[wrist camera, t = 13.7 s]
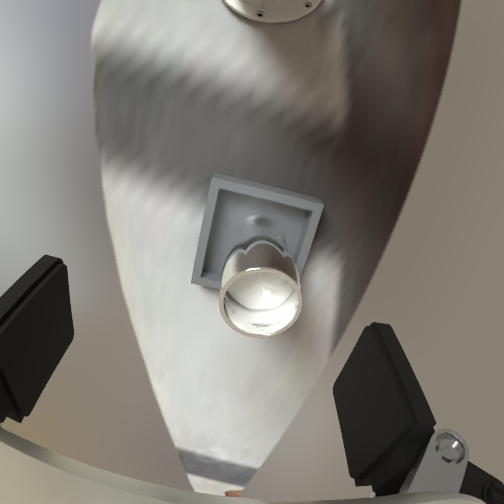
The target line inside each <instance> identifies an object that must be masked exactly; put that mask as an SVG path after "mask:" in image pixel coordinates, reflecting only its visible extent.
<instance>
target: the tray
mask: <svg viewBox="0 0 504 504" xmlns="http://www.w3.org/2000/svg"><path fill="white" fill-rule="evenodd" d="M323 207H324V204H323V203H322V202H321V201H320V199H318V198H315V197H311V196H307V195H304V194H300V193H296V192H292V191H288V190H285V189H281V188H277V187H273V186H269V185H265V184H261V183H256V182H252V181H248V180H244V179H240V178H235V177H231V176H226V175H222V174H217V173H215V174H214V175H213V177H212V180H211V184H210V189H209V193H208V198H207V203H206V208H205V212H204V217H203V222H202V227H201V232H200V237H199V242H198V247H197V253H196V258H195V263H194V269H193V274H192V280H191V283H193V284H197V285H202V286H206V287H211V288H215V289H220V281H221V273H222V269H223V265H224V262H225V260H226V258H227V256H228V254H229V252H230V251H231V249H232V248H233V246H234V245H233V232H234V229H235V227H236V225H237V224H238V223H239V222H240V221H241V220H242V219H243V218H245V217H247V216H249V215H253V214H264V215H267V216H270V217H271V218H273V219H274V220H276V221H277V222H278V223H279V225H280V226H281V228H282V231H283V235H284V242H283V244H284V245H285V247H286V248H287V249H288V250H289V252H290V254H291V255H292V257H293V259H294V261H295V264H296V267H297V270H298V274H299V279H300V277H301V274H302V271H303V268H304V265H305V262H306V259H307V256H308V253H309V250H310V247H311V244H312V241H313V238H314V235H315V232H316V229H317V226H318V223H319V220H320V217H321V213H322V210H323Z"/></svg>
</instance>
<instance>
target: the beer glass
mask: <svg viewBox="0 0 504 504" xmlns="http://www.w3.org/2000/svg"><path fill="white" fill-rule="evenodd" d="M283 242H284V235H283V231H282V228H281V226H280V225H279V223H278V222H277V221H276V220H274V219H273V218H271V217H270V216H267V215H264V214H253V215H249V216H247V217H245V218H243V219H242V220H241V221H240V222H239V223H238V224H237V225H236V227H235V229H234V232H233V245H234V246H233V248H232V249H231V251H230V252H229V254H228V256H227V258H226V260H225V262H224V265H223V269H222V273H221V281H220V299H219V307H220V312H221V314H222V317H223V318H224V320H225V322H226V323H227V324H228V325H229V326H230V327H231V328H232V329H234V330H235V331H237V332H238V333H240V334H243V335H245V336H249V337H254V338H266V337H272V336H275V335H278V334H280V333H282V332H284V331H286V330H287V329H289V328H290V327H291V326H292V325H293V324H294V323H295V322H296V320H297V319H298V317H299V315H300V313H301V309H302V294H301V286H300V279H299V274H298V270H297V267H296V264H295V261H294V259H293V257H292V255H291V254H290V252H289V250H288V249H287V248H286V247H285V245H284V244H283Z"/></svg>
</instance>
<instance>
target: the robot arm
mask: <svg viewBox="0 0 504 504" xmlns="http://www.w3.org/2000/svg"><path fill="white" fill-rule="evenodd" d="M223 1H224V2H225V3H226V5H227V6H229V7H230V8H231V9H232V10H233V11H235V12H236V13H238V14H239V15H241V16H243V17H246V18H248V19H250V20H254V21H258V22H264V23H285V22H290V21H294V20H297V19H299V18H302V17H304V16H305V15H307V14H309V13H310V12H312V11H313V10H314V9H315V8H316V7H317V6H318V4H319V3H320V2H321V0H223ZM306 5H307V6H309V8H307V7H305V6H306ZM259 14H261V15H262V17H258V15H259ZM73 336H74V327H73V320H72V313H71V304H70V295H69V284H68V272H67V266H66V265H65V264H63V261H62V259H60V258H57V257H53V256H49V255H44V256H43V257H42V258H40V259H39V260H38V261H37V262H36V263H35V264H34V265H33V266H32V267H31V268H30V269H29V270H27V272H25V273H24V274H23V275H22V276H21V277H20V278H19V279H18V280H17V281H16V282H15V283H14V284H13V285H12V286H11V287H10V288H9V289H8V290H7V291H6V292H5V293H4V294H3V295H2V296H1V297H0V504H504V485H503V483H502V482H501V481H499V480H498V479H496V478H495V477H493V476H492V475H490V474H488V473H487V472H485V471H483V470H482V469H480V468H479V467H477V466H476V465H474V464H472V463H471V462H469V461H468V459H469V449H468V446H467V443H466V441H465V440H464V439H463V437H462V436H461V435H460V434H458V433H457V432H456V431H453V430H450V429H445V428H443V429H439V430H437V431H436V432H435V430H434V428H433V426H434V425H435V424H436V421H435V419H434V416H433V414H432V412H431V409H430V407H429V405H428V403H427V400H426V398H425V396H424V393H423V391H422V389H421V387H420V385H419V382H418V380H417V379H416V376H415V374H414V372H413V370H412V367H411V365H410V363H409V361H408V359H407V357H406V355H405V353H404V351H403V349H402V347H401V345H400V343H399V341H398V339H397V337H396V335H395V333H394V331H393V329H392V327H391V326H390V325H389V324H383V323H376V322H373V323H371V324H370V326H366V327H365V328H364V330H363V332H362V334H361V336H360V337H359V339H358V341H357V343H356V345H355V347H354V349H353V351H352V353H351V354H350V356H349V358H348V360H347V362H346V364H345V365H344V367H343V369H342V371H341V372H340V374H339V376H338V378H337V379H336V381H335V383H334V386H333V395H334V399H335V404H336V409H337V413H338V418H339V423H340V428H341V433H342V438H343V443H344V448H345V453H346V458H347V463H348V469H349V474H350V476H351V477H352V478H354V480H355V485H356V486H369V485H372V489H373V492H372V493H371V495H370V497H369V498H358V499H343V500H323V501H281V500H260V499H247V498H236V497H227V496H218V495H211V494H204V493H198V492H192V491H186V490H180V489H175V488H170V487H165V486H161V485H156V484H152V483H148V482H144V481H140V480H136V479H132V478H128V477H125V476H121V475H118V474H115V473H111V472H108V471H105V470H102V469H99V468H95V467H92V466H89V465H87V464H84V463H81V462H78V461H76V460H73V459H70V458H68V457H65V456H62V455H60V454H58V453H55V452H53V451H50V450H48V449H46V448H43V447H41V446H39V445H37V444H35V443H32V442H30V441H28V440H26V439H24V438H22V437H19V436H17V435H15V434H13V433H11V432H9V431H7V430H5V426H4V420H5V418H6V417H9V418H11V419H13V420H15V421H17V422H19V423H21V422H22V420H23V418H24V416H26V417H27V416H29V415H30V413H31V411H32V410H33V408H34V406H35V404H36V402H37V400H38V398H39V397H40V395H41V393H42V391H43V389H44V388H45V386H46V384H47V382H48V381H49V379H50V377H51V375H52V374H53V372H54V370H55V369H56V367H57V365H58V363H59V362H60V360H61V358H62V357H63V355H64V353H65V352H66V350H67V349H68V347H69V345H70V343H71V342H72V340H73Z"/></svg>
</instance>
